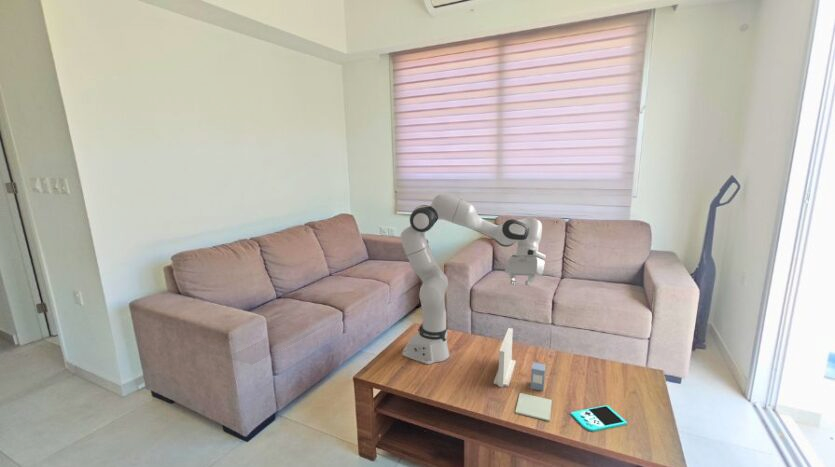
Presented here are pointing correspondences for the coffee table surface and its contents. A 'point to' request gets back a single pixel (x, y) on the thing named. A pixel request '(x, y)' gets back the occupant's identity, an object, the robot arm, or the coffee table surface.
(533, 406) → the sage mat
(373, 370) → the coffee table surface
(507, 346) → the screen
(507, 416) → the coffee table surface
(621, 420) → the handheld game console
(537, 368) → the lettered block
